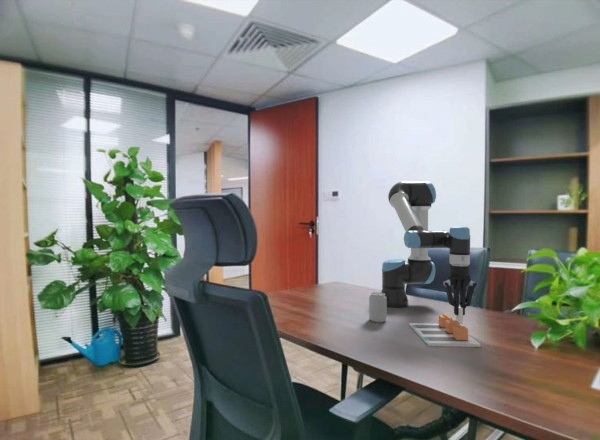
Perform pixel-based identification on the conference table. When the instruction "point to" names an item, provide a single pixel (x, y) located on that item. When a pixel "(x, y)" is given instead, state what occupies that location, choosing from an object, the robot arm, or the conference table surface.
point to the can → (377, 307)
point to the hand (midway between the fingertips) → (459, 323)
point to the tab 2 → (450, 325)
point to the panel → (440, 336)
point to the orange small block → (443, 319)
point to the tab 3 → (460, 332)
